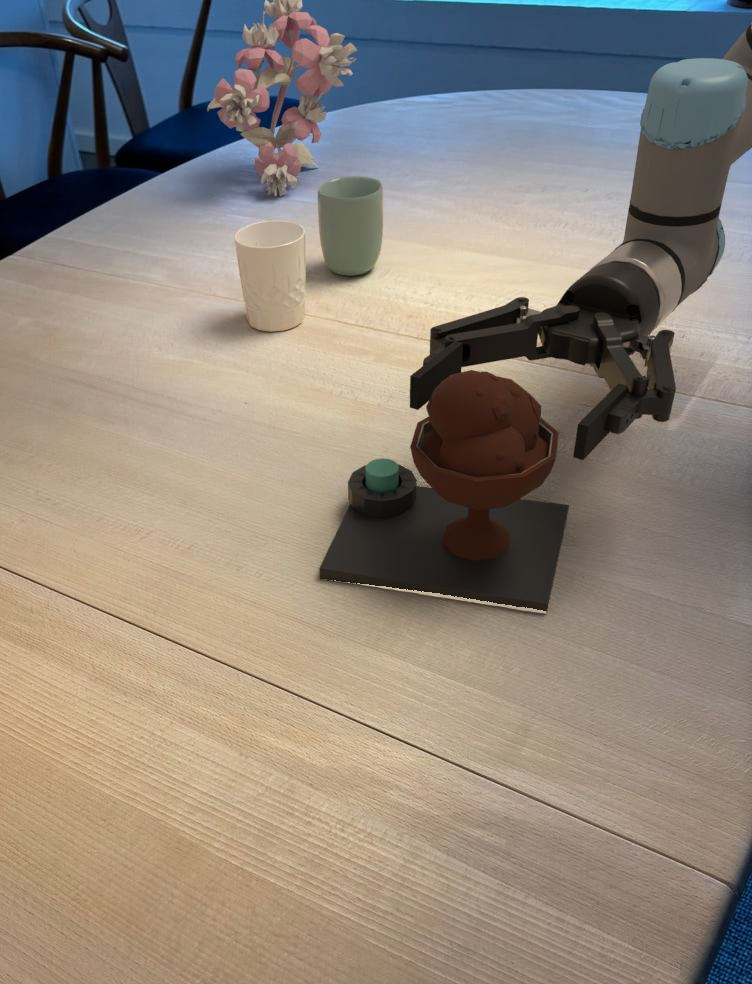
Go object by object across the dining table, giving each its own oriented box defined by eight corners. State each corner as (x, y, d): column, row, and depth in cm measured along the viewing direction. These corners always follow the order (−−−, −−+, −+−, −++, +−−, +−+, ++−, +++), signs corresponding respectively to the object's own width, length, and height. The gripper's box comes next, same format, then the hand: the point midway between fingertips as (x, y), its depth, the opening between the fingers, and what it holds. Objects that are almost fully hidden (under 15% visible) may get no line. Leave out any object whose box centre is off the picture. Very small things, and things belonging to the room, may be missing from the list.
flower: (163, 174, 151) (182, 15, 129) (256, 117, 161) (288, -40, 139) (259, 251, 148) (296, 101, 126) (348, 188, 158) (396, 39, 136)
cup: (312, 279, 122) (308, 196, 115) (332, 255, 127) (329, 174, 120) (372, 284, 120) (371, 200, 113) (390, 259, 125) (390, 177, 118)
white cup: (251, 304, 118) (243, 220, 112) (315, 305, 117) (310, 219, 110) (236, 334, 113) (226, 247, 106) (303, 335, 111) (298, 247, 104)
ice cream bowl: (515, 598, 74) (536, 425, 64) (384, 556, 79) (384, 388, 69) (566, 523, 80) (593, 354, 70) (442, 488, 85) (450, 326, 75)
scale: (568, 514, 83) (572, 484, 81) (546, 615, 74) (550, 585, 72) (359, 487, 88) (358, 459, 86) (315, 579, 80) (313, 550, 77)
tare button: (401, 477, 84) (402, 460, 83) (394, 495, 83) (394, 478, 81) (370, 473, 85) (370, 456, 84) (362, 491, 83) (361, 474, 82)
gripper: (757, 380, 79) (649, 511, 68) (484, 315, 92) (354, 417, 80) (782, 290, 74) (671, 416, 63) (489, 234, 87) (352, 330, 75)
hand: (493, 416), depth 71 cm, fingers open, 13 cm apart
